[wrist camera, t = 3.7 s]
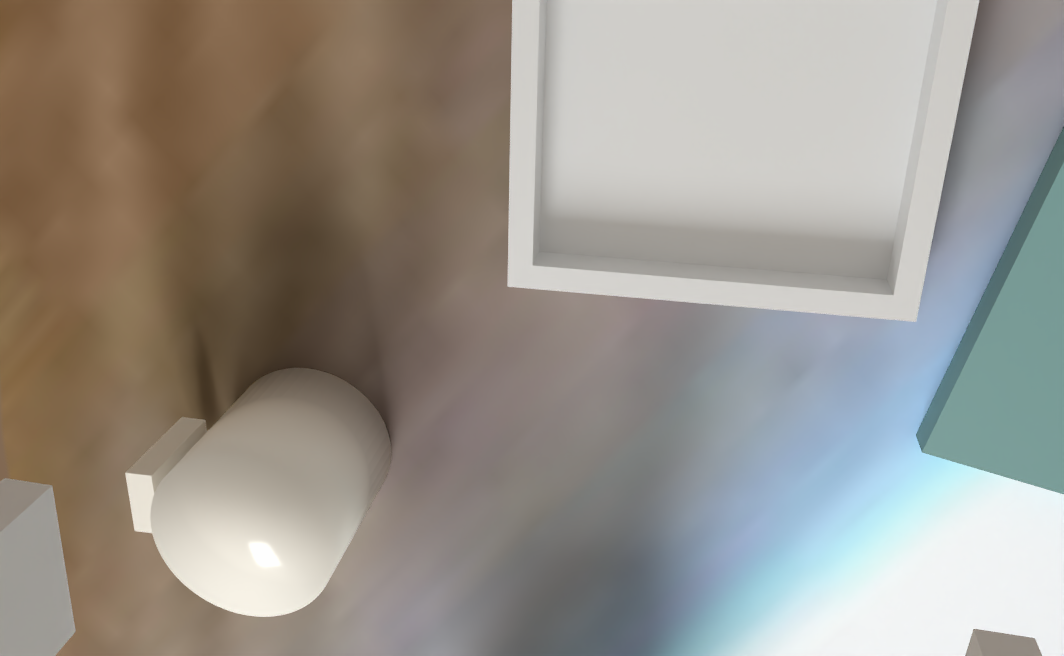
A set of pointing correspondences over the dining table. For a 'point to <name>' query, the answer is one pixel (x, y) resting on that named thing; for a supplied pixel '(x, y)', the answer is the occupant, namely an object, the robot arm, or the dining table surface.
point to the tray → (733, 149)
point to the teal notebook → (1012, 356)
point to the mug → (264, 491)
